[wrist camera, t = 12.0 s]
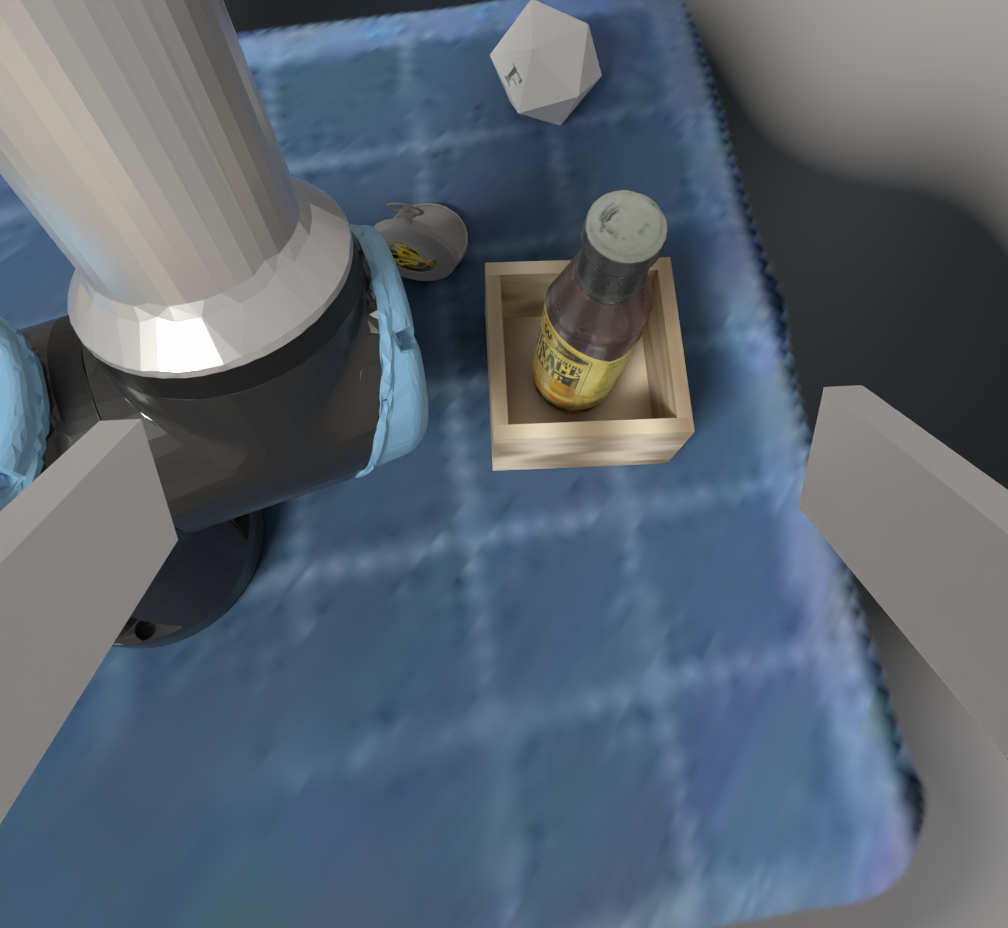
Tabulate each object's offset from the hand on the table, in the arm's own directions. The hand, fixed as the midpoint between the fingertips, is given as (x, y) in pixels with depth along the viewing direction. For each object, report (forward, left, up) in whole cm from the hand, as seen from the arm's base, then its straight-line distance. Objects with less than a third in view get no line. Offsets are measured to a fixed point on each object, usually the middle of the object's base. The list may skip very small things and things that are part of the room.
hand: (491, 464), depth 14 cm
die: (-20, +40, -36) cm, 57 cm away
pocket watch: (-20, +21, -36) cm, 46 cm away
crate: (-4, +18, -35) cm, 40 cm away
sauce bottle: (-4, +18, -34) cm, 39 cm away
